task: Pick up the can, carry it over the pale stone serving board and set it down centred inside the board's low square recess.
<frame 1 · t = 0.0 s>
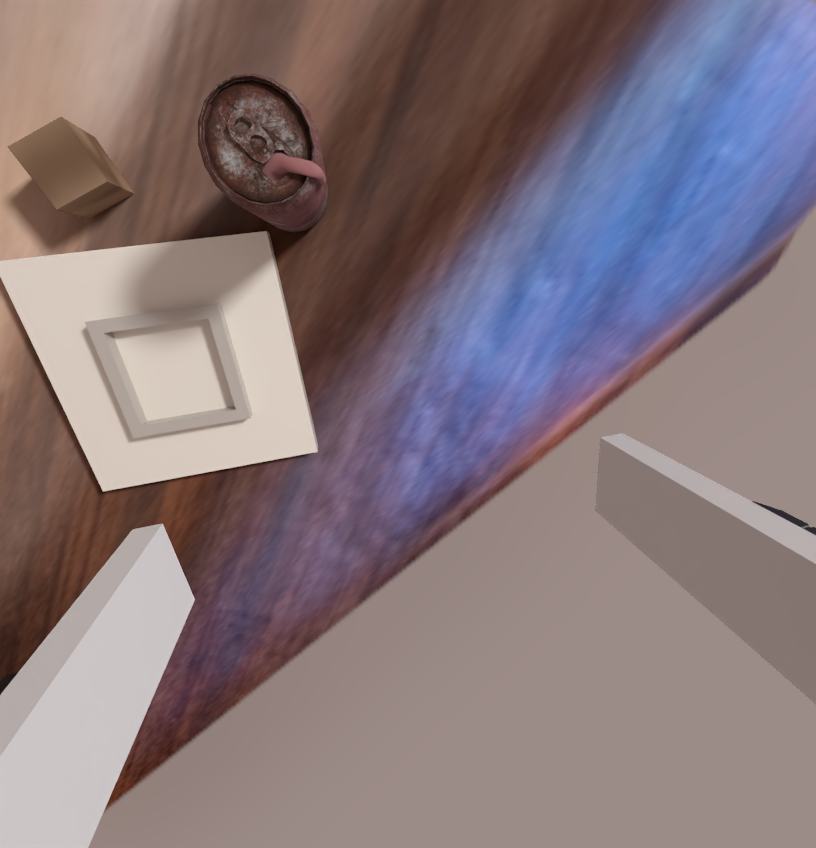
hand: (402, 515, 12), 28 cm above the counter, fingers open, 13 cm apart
can: (292, 192, 32), on the counter
walnut block: (92, 179, 30), on the counter
board: (184, 367, 35), on the counter
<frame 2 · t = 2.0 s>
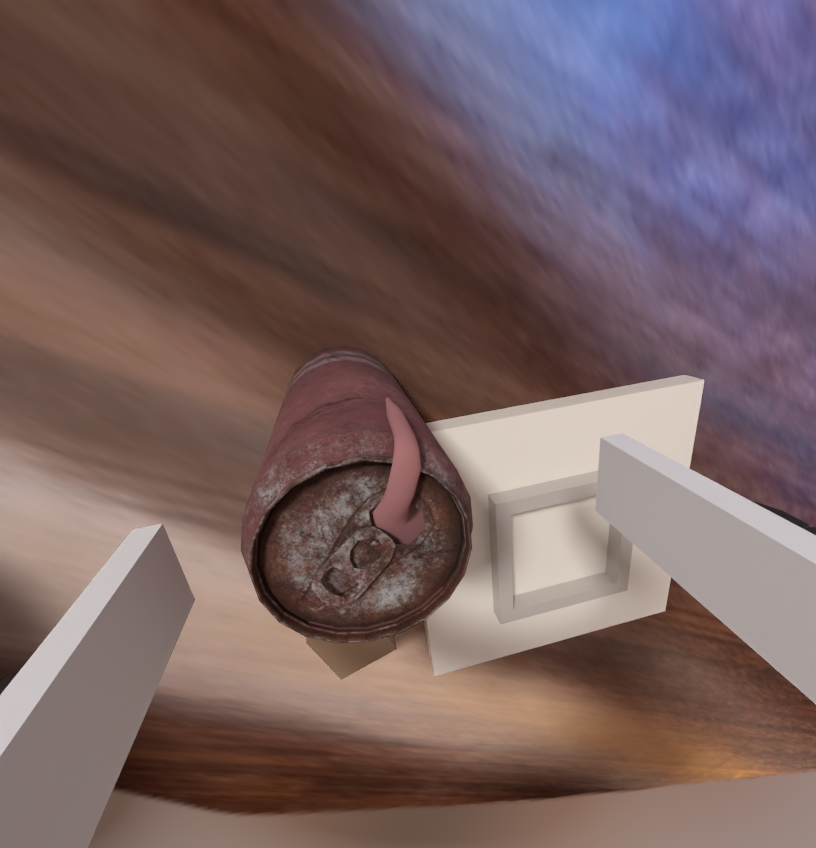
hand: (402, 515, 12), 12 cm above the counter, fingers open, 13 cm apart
can: (343, 395, 22), on the counter
walnut block: (349, 596, 27), on the counter
board: (546, 528, 29), on the counter
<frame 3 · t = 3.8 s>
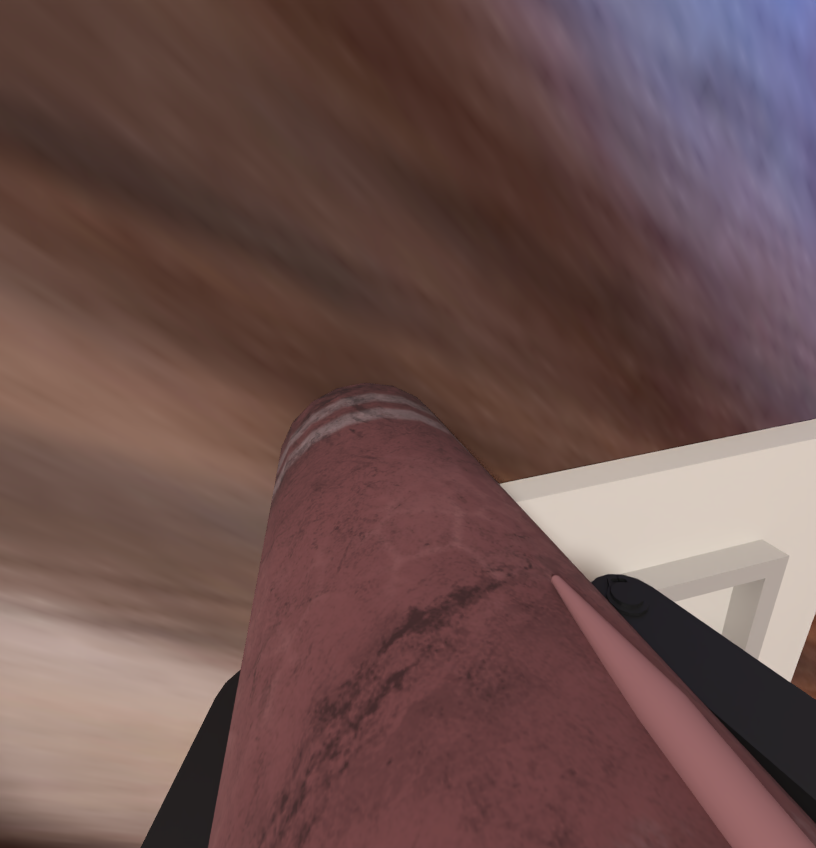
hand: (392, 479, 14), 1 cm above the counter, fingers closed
can: (365, 452, 15), on the counter, touching hand
board: (634, 616, 21), on the counter
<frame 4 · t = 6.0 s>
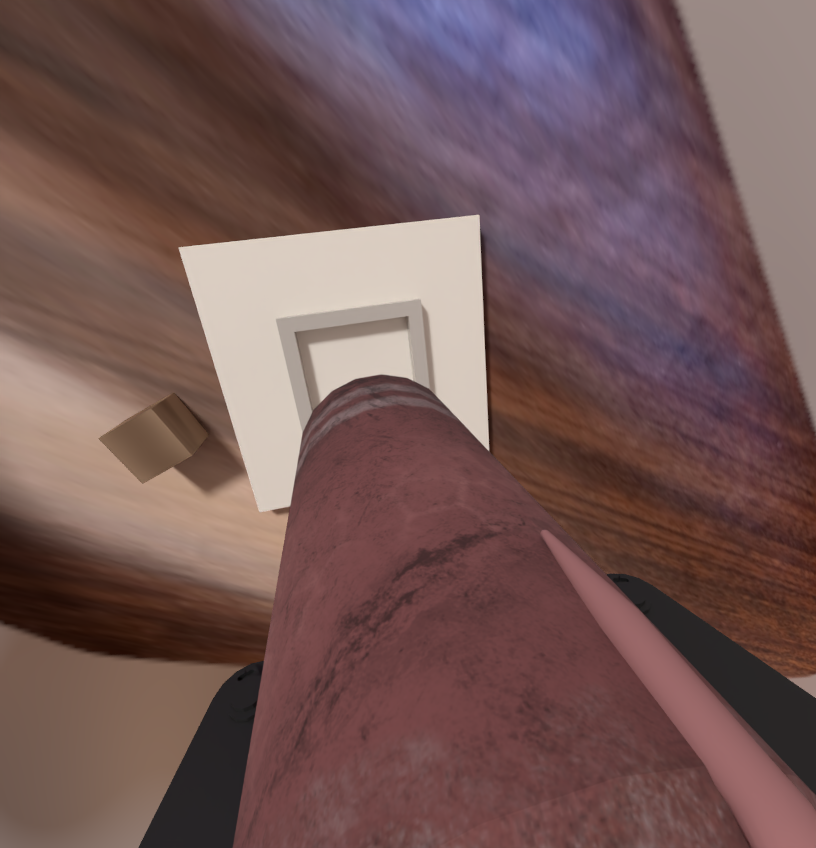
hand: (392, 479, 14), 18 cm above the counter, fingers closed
can: (379, 440, 16), point 16 cm above the counter, touching hand
walnut block: (169, 426, 30), on the counter
board: (359, 371, 31), on the counter
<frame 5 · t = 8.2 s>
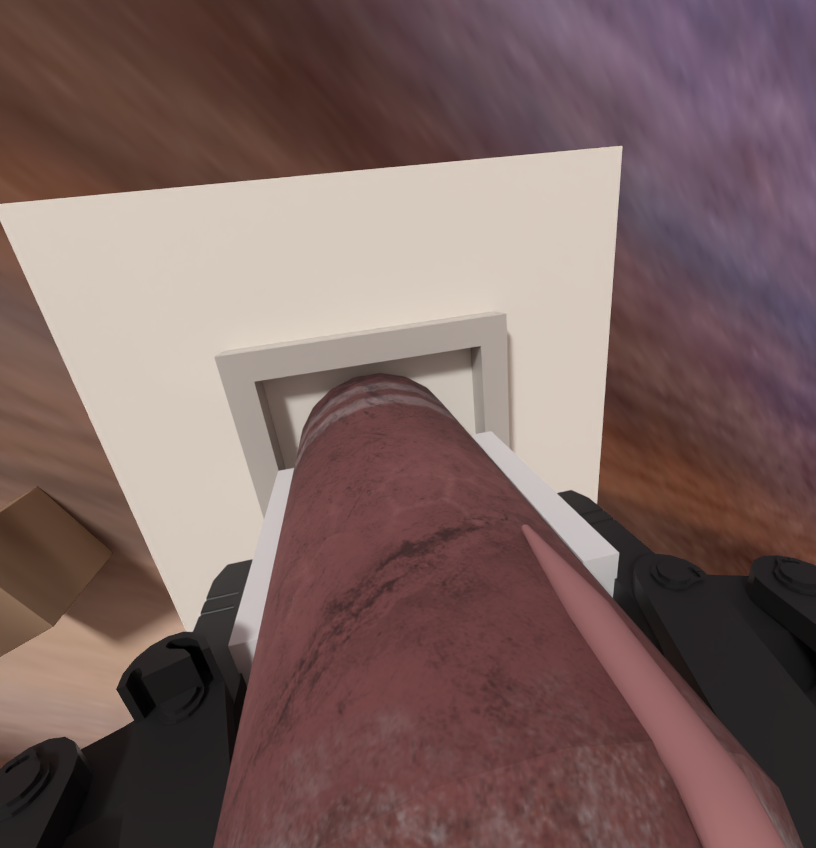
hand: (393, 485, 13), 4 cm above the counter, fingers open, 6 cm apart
can: (378, 438, 16), point 1 cm above the counter, touching board
walnut block: (37, 543, 16), on the counter
board: (379, 438, 17), on the counter
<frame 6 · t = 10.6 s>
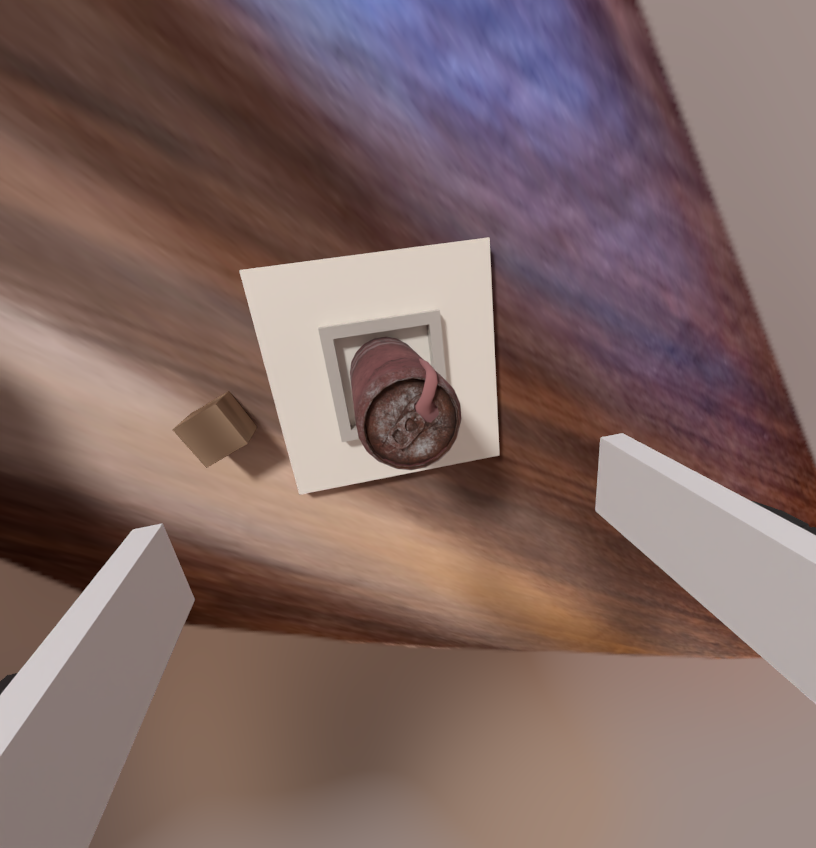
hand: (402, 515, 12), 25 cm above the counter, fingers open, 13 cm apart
can: (384, 369, 34), point 1 cm above the counter, touching board
walnut block: (224, 420, 35), on the counter
board: (385, 371, 36), on the counter
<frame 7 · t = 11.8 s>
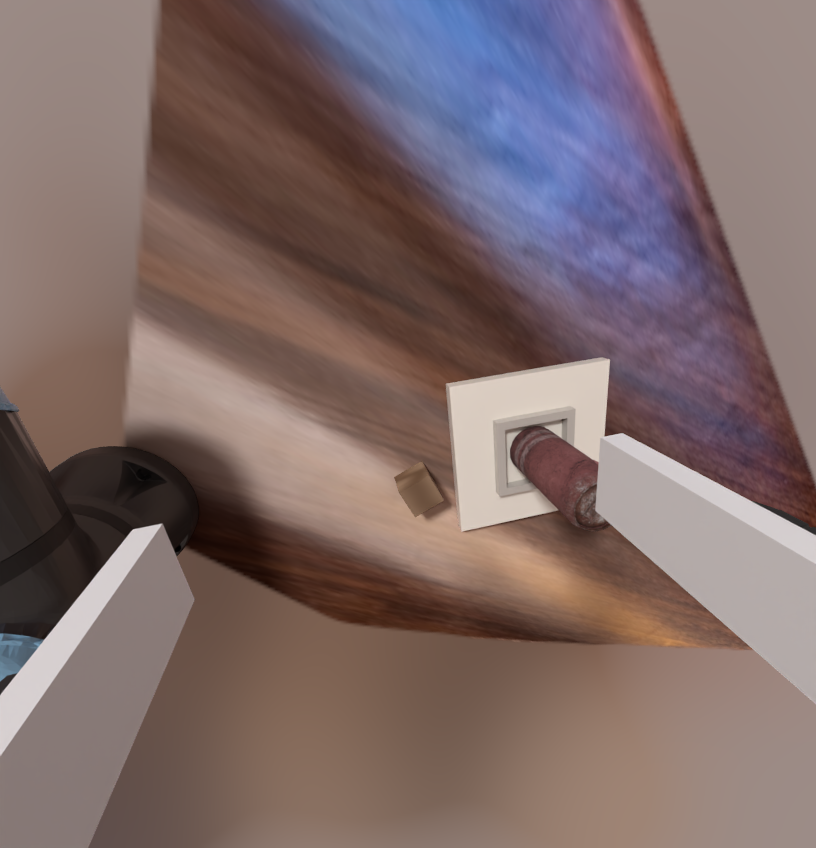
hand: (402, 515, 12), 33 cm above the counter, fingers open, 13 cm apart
can: (530, 445, 49), point 1 cm above the counter, touching board
walnut block: (415, 480, 49), on the counter
board: (526, 445, 50), on the counter
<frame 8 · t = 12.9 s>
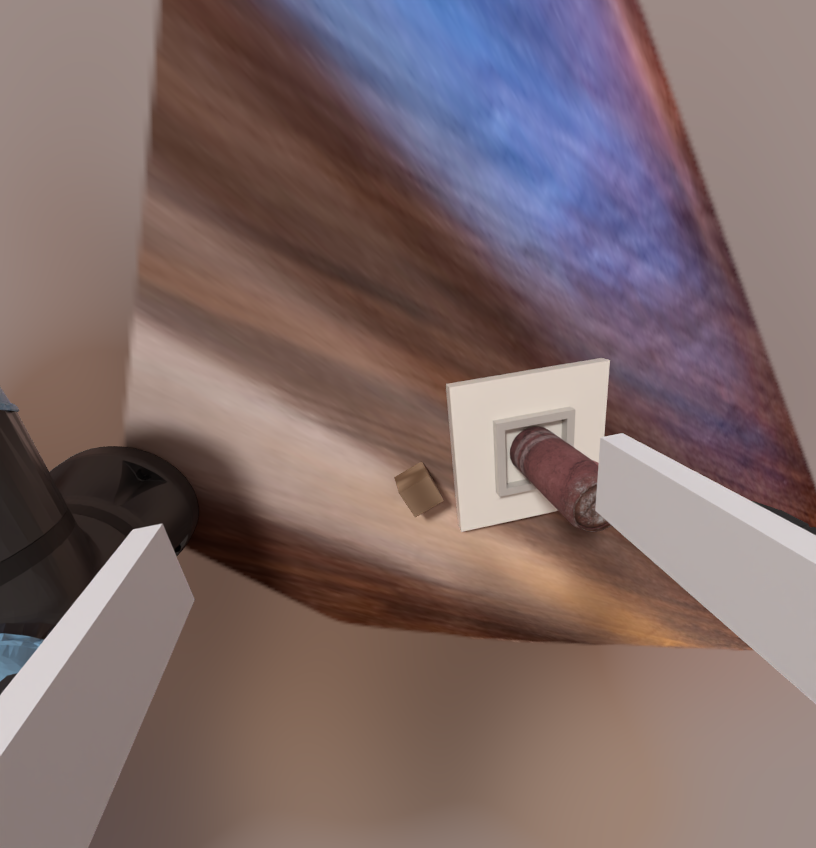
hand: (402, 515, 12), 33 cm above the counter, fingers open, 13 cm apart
can: (530, 445, 49), point 1 cm above the counter, touching board
walnut block: (415, 480, 49), on the counter
board: (526, 445, 50), on the counter
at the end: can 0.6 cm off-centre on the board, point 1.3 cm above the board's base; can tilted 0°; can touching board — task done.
